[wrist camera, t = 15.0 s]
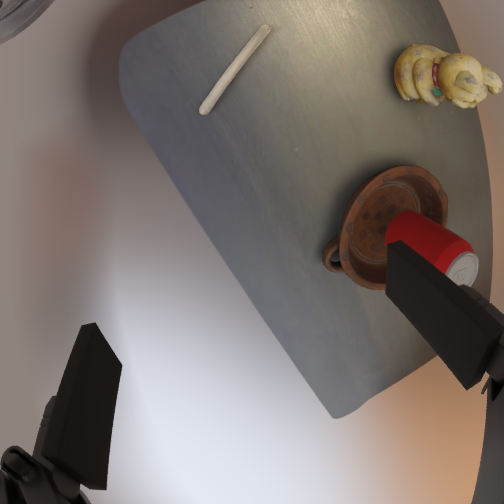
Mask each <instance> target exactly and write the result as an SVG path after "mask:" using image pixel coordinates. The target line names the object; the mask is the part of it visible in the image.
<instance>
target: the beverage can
mask: <svg viewBox="0 0 504 504" xmlns="http://www.w3.org/2000/svg"><path fill="white" fill-rule="evenodd" d="M398 240H402V241H403V242H404V243H406V244H407V245H408V246H410V247H411V248H412V249H414V250H415V251H416V252H418V253H419V254H420V255H421V256H423V257H424V258H425V259H426V260H428V261H429V262H430V263H431V264H433V265H434V266H435V267H436V268H438V269H439V270H440V271H441V272H443V273H444V274H445V275H446V276H447V277H449V278H450V279H451V280H452V281H453V282H455V283H456V284H457V285H458V286H459V285H461V284H465V285H467V286H469V287H471V285H472V284H473V282H474V280H475V278H476V276H477V273H478V268H479V261H478V258H477V256H476V255H475V254H474V251H473V249H472V247H471V245H470V244H469V243H468V242H467V241H466V240H464V239H463V238H461V237H459V236H458V235H456V234H455V233H453V232H451V231H450V230H448V229H446V228H445V227H443V226H441V225H440V224H438V223H436V222H434V221H433V220H431V219H429V218H427V217H425V216H423V215H422V214H420V213H418V212H416V211H412V210H408V211H404V212H402V213H400V214H399V215H397V216H396V217H395V218H394V219H393V220H392V222H391V223H390V225H389V227H388V229H387V232H386V236H385V246H386V249H387V244H389V243H392V242H395V241H398Z"/></svg>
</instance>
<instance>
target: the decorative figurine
mask: <svg viewBox="0 0 504 504" xmlns="http://www.w3.org/2000/svg"><path fill="white" fill-rule="evenodd" d="M394 79H395V84H396V86H397V89H398V91H399V94H400V96H401V98H402V99H403V100H408V101H410V100H413V99H415V101H416V102H419V103H426V104H427V105H428V106H433V107H434V106H438V105H439V102H441V101H443V100H445V99H446V98H447V100H449V102H450V103H451V104H453V105H455V106H457V107H459V108H468V107H471V108H473V107H475V106H476V104H477V103H479V102H480V101H481V100H483V99H485V98H486V96H487V87H488V91H489V92H491V93H492V94H499V93H500V92H501V90H502V87H503V85H502V82H501V80H500V78H499V77H498V76H497V74H495V73H494V72H493V71H492V70H490V69H488V68H485V67H482V66H481V64H480V63H479V62H478V61H477V60H476V59H475V58H473V57H471V56H470V55H467V54H464V53H453V54H450V53H447V52H443V51H441V50H439V49H438V48H436V47H434V46H431V45H426V44H420V45H416V44H411V45H410V47H409V48H407V49H405V50H404V51H403V52H402V53H401V54H400V56H399V57H398V58H397V61H396V63H395V67H394Z"/></svg>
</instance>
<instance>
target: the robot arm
mask: <svg viewBox="0 0 504 504" xmlns="http://www.w3.org/2000/svg"><path fill="white" fill-rule="evenodd" d="M23 1H24V0H0V19H1V18H2V17H4V16H6V15H7V14H9V13H10V12H12V11H13V10H14V9H16V8H17V7H18V6H19V5H20V4H21V3H22V2H23ZM385 294H386V295H387V296H388V297H389V298H390V300H391V301H392V302H393V303H394V304H395V305H396V306H397V307H398V308H399V310H400V311H401V312H402V313H403V314H404V315H405V316H406V318H407V319H408V320H409V321H410V322H411V323H412V324H413V326H414V327H415V328H416V329H417V330H418V331H419V333H420V334H421V335H422V336H423V337H424V339H425V340H426V341H427V342H428V343H429V344H430V346H431V347H432V348H433V349H434V350H435V352H436V353H437V354H438V355H439V357H440V358H441V359H442V360H443V361H444V363H445V364H446V365H447V366H448V368H449V369H450V370H451V371H452V372H453V374H454V375H455V377H456V378H457V379H458V380H459V382H460V383H461V384H462V385H463V387H464V388H465V389H466V390H468V389H470V388H471V387H473V386H474V385H475V384H477V383H478V382H480V381H481V379H482V377H483V375H484V373H485V371H486V372H487V373H488V374H489V375H490V376H489V378H488V380H487V382H486V384H485V385H484V387H483V389H482V392H481V394H484V392H485V391H486V389H488V390H487V410H486V423H485V432H484V441H483V448H482V455H481V461H480V467H479V472H478V477H477V482H476V487H475V491H474V495H473V500H472V503H471V504H504V314H502V313H501V312H500V311H499V310H498V309H497V308H496V307H495V306H494V305H492V304H491V303H489V301H488V300H487V299H486V298H483V296H482V295H481V294H480V293H479V292H477V291H476V290H475V289H474V288H471V287H469V286H467V285H465V284H461V285H459V286H458V285H457V284H456V283H455V282H453V281H452V280H451V279H450V278H449V277H447V276H446V275H445V274H444V273H443V272H441V271H440V270H439V269H438V268H436V267H435V266H434V265H433V264H431V263H430V262H429V261H428V260H426V259H425V258H424V257H423V256H421V255H420V254H419V253H418V252H416V251H415V250H414V249H412V248H411V247H410V246H408V245H407V244H406V243H404V242H403V241H402V240H398V241H395V242H392V243H389V244H387V271H386V292H385ZM121 370H122V364H121V362H120V361H119V360H118V358H117V356H116V355H115V353H114V352H113V350H112V349H111V347H110V345H109V344H108V342H107V341H106V339H105V338H104V336H103V334H102V333H101V331H100V329H99V328H98V326H97V324H96V323H90V324H86V325H82V326H81V329H80V331H79V334H78V336H77V339H76V341H75V344H74V346H73V349H72V352H71V354H70V357H69V360H68V363H67V365H66V369H65V371H64V374H63V377H62V380H61V383H60V386H59V389H58V392H57V396H52V398H51V399H50V401H49V402H48V404H47V405H46V408H45V411H44V414H43V419H42V421H41V424H40V425H41V427H40V428H39V432H38V435H37V439H36V443H35V447H34V451H33V455H32V456H31V455H29V454H28V453H27V452H25V451H24V450H23V449H22V448H20V447H19V446H11V447H9V448H8V449H7V450H6V451H5V452H4V454H3V456H2V458H1V470H0V504H91V503H90V501H89V500H88V498H87V497H86V495H85V494H84V493H83V492H82V491H81V490H80V483H81V484H82V485H84V486H85V487H87V488H89V489H93V490H107V475H108V464H109V452H110V444H111V435H112V427H113V420H114V413H115V406H116V399H117V394H118V388H119V382H120V376H121ZM487 387H488V388H487ZM2 470H3V471H4V472H3V471H2ZM5 472H6V473H7V474H6V473H5Z"/></svg>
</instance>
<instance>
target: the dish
mask: <svg viewBox="0 0 504 504" xmlns="http://www.w3.org/2000/svg"><path fill="white" fill-rule="evenodd" d="M408 210H412V211H416V212H418V213H420V214H422V215H423V216H425V217H427V218H429V219H431V220H433V221H434V222H436V223H438V224H440V225H441V226H443V227H445V228H446V225H447V216H448V197H447V195H446V193H445V192H444V190H443V188H442V186H441V184H440V182H439V181H438V180H437V179H436V178H435V177H434V176H433V175H432V174H431V173H430V172H429V171H427V170H426V169H424V168H421V167H418V166H412V165H403V166H398V167H394V168H391V169H389V170H386V171H385V172H383V173H380V174H378V175H375V176H373V177H372V178H370V179H368V180H367V181H366V182H365V183H363V184H362V185H361V186H360V187H359V188H358V189H357V190H356V192H355V193H354V194H353V196H352V198H351V199H350V201H349V203H348V205H347V208H346V210H345V213H344V217H343V220H342V225H341V230H340V233H339V234H338V235H337V236H336V237H335V238H334V239H333V240H332V241H330V242H329V243H328V244H327V245H326V247H325V248H324V250H323V252H322V261H323V263H324V265H325V267H326V268H327V269H328V270H329V271H332V272H337V273H341V272H345V273H346V274H347V275H348V276H349V277H350V278H351V279H352V280H353V281H354V282H355V283H357V284H358V285H360V286H362V287H365V288H367V289H372V290H386V271H387V249H386V246H385V236H386V232H387V229H388V227H389V225H390V223H391V222H392V220H393V219H394V218H395V217H396V216H397V215H399V214H400V213H402V212H404V211H408ZM337 250H339V256H340V261H338V262H332V261H330V258H331V256H332V254H333V253H334V252H335V251H337Z"/></svg>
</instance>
